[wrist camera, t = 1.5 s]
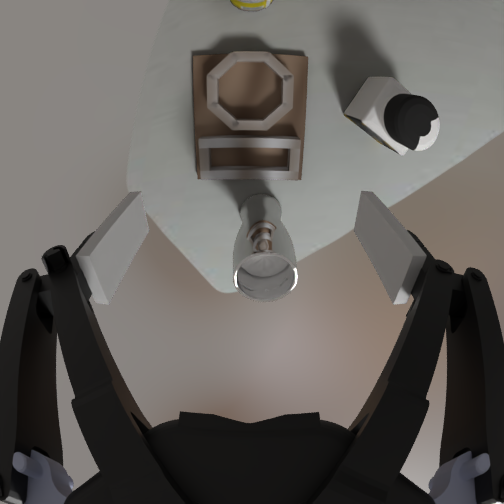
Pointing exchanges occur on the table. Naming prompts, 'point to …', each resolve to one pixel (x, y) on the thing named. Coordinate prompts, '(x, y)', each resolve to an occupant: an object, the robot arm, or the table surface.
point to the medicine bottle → (394, 115)
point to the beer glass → (263, 252)
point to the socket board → (249, 115)
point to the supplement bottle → (251, 4)
